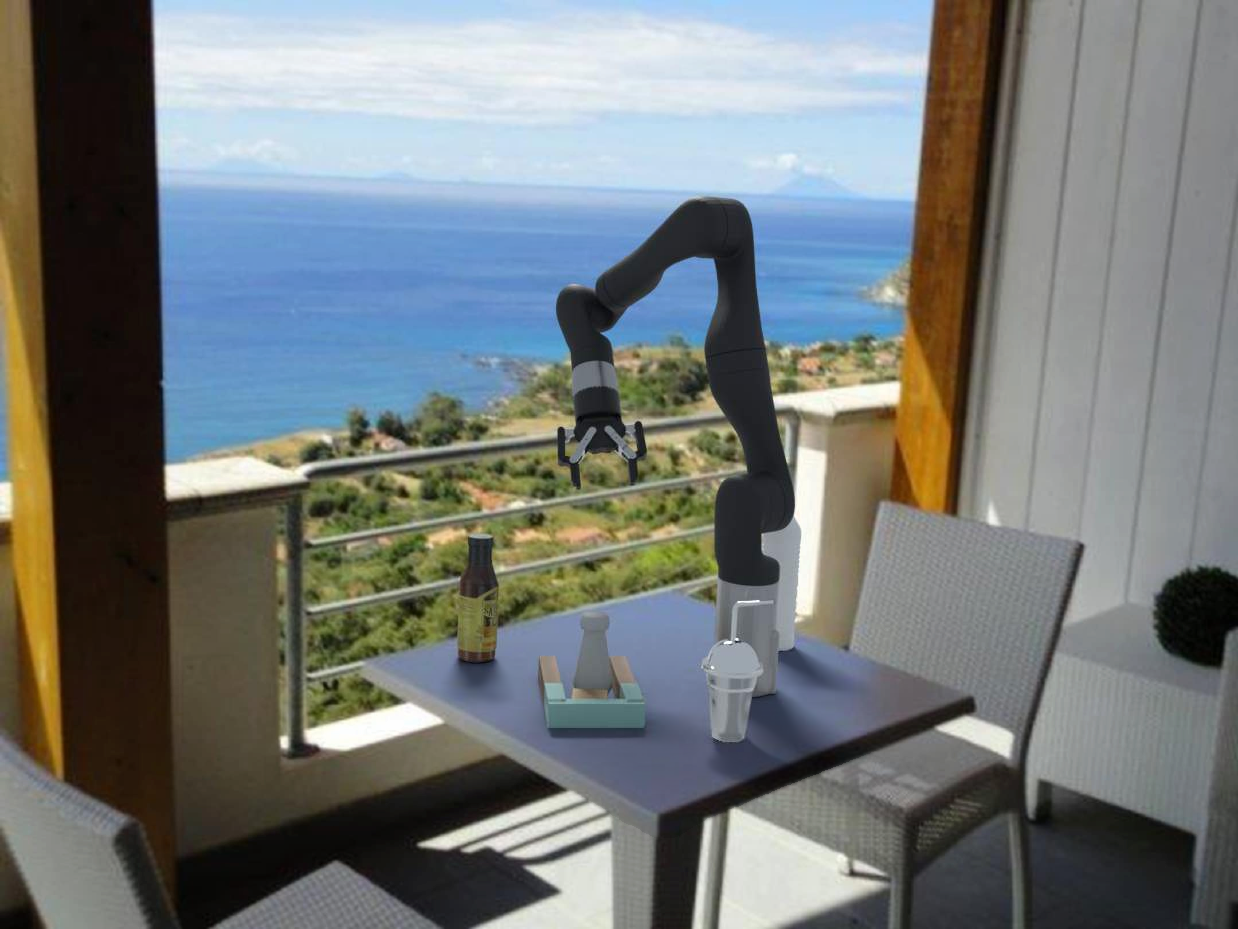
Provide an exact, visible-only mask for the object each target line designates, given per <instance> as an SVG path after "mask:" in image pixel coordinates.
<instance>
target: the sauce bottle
mask: <svg viewBox="0 0 1238 929" xmlns="http://www.w3.org/2000/svg"><path fill="white" fill-rule="evenodd" d="M467 546H468V553H467V554H468V556H467V562H468V563H467V565H466V566H465V568H464V569H463V570H462V573H461V575H460V580H459V592H458V609H457V610H458V611H457V612H458V617H457V639H456V641H457V643H456V644H457V657H458V658H459V659H460V660H461V661H463V662H464V661H465V662H467V663H468V662H469V663H477V664H478V663H484V662H485V663H486V662H490V661H491V660H493V659H495V656H496V650H497V644H498V642H497V641H498V622H499V620H498V619H499V592H500V590H499V589H500V585H499V582H498V578H497V575H496V572H495V568H494V565H493V559H492V558H493V546H494V536H493V535H492V534H488V533H471V534H468V536H467Z"/></svg>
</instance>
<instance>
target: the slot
mask: <svg viewBox="0 0 1238 929" xmlns="http://www.w3.org/2000/svg"><path fill="white" fill-rule="evenodd" d="M609 662H610V669H611V676H612V683H613V684H612V689H613V692H614V694H615V695H614V696H615V699H620V683H637V682H636V681H635V678H634V675H633V673H632V668H631V667H630V665H629V663H628V659H627V657H626V656H625V655H609ZM537 666H538V669H537V670H538V673H537V676H538V680H539V681H538V682H539V686H540V692H541V698H542V704H543V705H544V691H545V683H562V680H561V676H560V671H559V667H558V663H557V658H556V655H538V665H537Z"/></svg>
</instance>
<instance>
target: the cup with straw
mask: <svg viewBox="0 0 1238 929" xmlns="http://www.w3.org/2000/svg"><path fill="white" fill-rule="evenodd" d="M761 605H775V602H774V599H773V600H758V601H743V602H737V603H736V604H735V605H734V606H733V609H732V625H731V638H728V639H724V640H722V641H720V642H718V643H716V644H715V645H714V644H713V646H712V647H711V648H710V651H709V652H708V655H707V656H706V657H704V658H703V659H702V661H701V665H700V668H701V670H702V671H703V672H705V674H706V677H705V678H706V682H707V687H708V697H709V699H708V700H709V714H710V717H709V718H710V729H711V735H712V736H711V738H712V737H713V738H715V739H717V740H719V741H718V742H720V741H722V742H721V743H726V742H727V744H728V743H729V742H732V743H733V742H734V743H733V744H736V743H740V741H741V742H742V740H743V739H744V740H745V732H746V731H747V727H748V721H749V716H750V710H751V703H752V698H753V697H752V694H753V690H754V688H755V684H756V682H757V676H760V675H761V674H762V673H763V671H764V670H763V665H762V663H761V662H760V661H759V660H758V658H757V655H756V653H755V651H754V649H753V648H752V647H751V646H750V645H749V644H748V643H746V642H745V641H743V640H740V639H736V627H737V611H738V608H739V607H746V606H761ZM713 738H712V739H713ZM715 739H714V740H715ZM717 740H716V741H717ZM744 740H743V741H744ZM735 742H736V743H735ZM732 743H731V744H732ZM729 744H730V743H729Z"/></svg>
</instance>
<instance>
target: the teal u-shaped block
mask: <svg viewBox="0 0 1238 929" xmlns="http://www.w3.org/2000/svg"><path fill="white" fill-rule="evenodd" d="M543 708H544V713H545V719H546V725H547V729H645V726H646V724H645V723H646V721H645V720H646V702H645V699H644V696H643V694H642V692H641V689H640V686H639V684H638V682H636V683H620V699H617V698H607V699H572V698H566V694H565V689H564V686H563V683H562V682H561V683H545V691H544V704H543Z"/></svg>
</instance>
